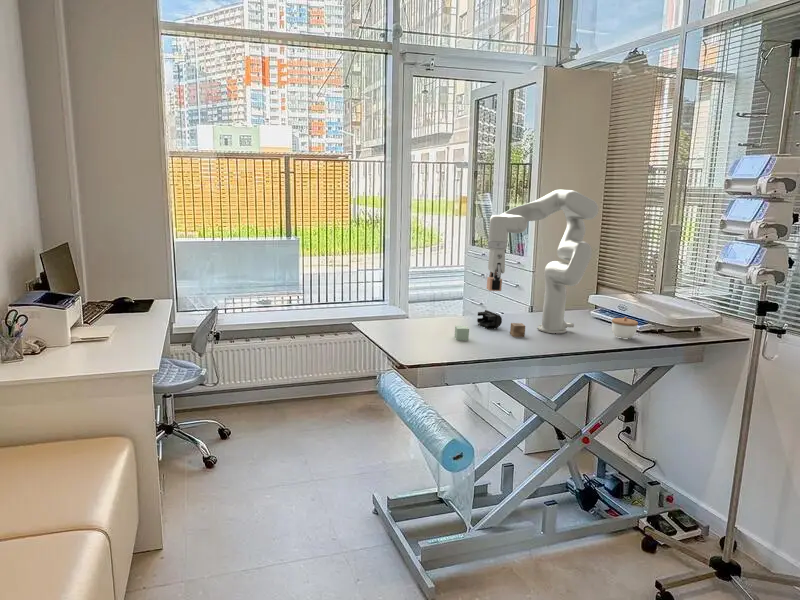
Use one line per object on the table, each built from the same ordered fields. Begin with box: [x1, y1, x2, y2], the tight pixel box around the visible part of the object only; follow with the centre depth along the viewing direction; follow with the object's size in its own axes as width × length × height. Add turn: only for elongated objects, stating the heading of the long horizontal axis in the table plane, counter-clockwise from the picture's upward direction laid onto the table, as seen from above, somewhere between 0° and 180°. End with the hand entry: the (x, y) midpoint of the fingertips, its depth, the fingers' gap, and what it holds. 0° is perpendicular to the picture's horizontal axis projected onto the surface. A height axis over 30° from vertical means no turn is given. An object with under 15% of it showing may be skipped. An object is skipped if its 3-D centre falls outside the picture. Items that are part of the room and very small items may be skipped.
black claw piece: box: [476, 309, 503, 330], centre depth 272 cm, size 10×7×7 cm
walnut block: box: [509, 322, 526, 338], centre depth 258 cm, size 5×5×5 cm
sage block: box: [454, 325, 470, 341], centre depth 249 cm, size 5×5×5 cm
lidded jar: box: [611, 316, 639, 339], centre depth 262 cm, size 11×11×9 cm
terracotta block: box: [486, 276, 503, 292], centre depth 249 cm, size 5×5×5 cm
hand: (494, 288), depth 249 cm, fingers closed on terracotta block, 5 cm apart
